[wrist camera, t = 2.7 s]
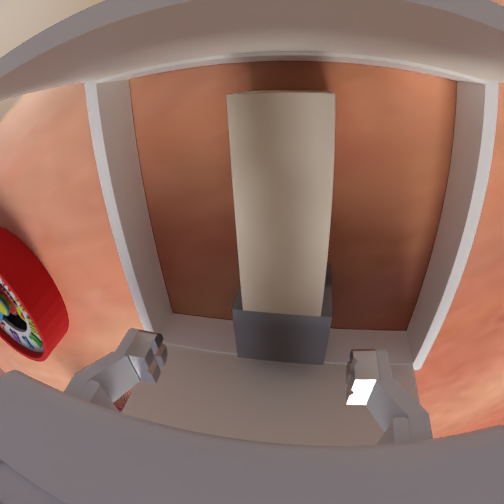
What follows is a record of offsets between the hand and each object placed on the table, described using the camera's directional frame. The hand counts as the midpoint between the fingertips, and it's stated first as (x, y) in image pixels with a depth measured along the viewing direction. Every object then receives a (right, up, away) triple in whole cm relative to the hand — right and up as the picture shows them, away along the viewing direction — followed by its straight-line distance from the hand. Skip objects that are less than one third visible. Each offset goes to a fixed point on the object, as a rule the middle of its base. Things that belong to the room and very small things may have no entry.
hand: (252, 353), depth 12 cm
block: (+3, +7, +10) cm, 12 cm away
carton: (+3, +7, +10) cm, 12 cm away
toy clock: (-34, -1, +23) cm, 41 cm away
